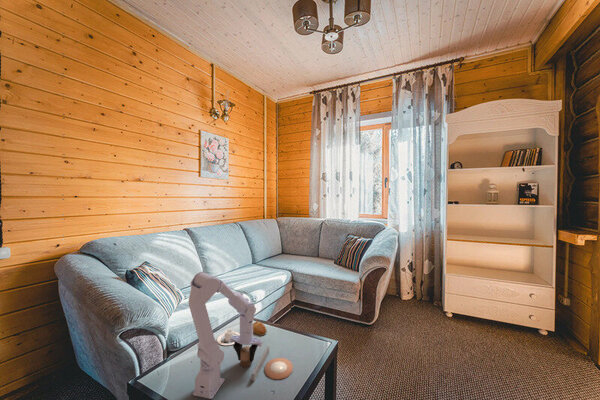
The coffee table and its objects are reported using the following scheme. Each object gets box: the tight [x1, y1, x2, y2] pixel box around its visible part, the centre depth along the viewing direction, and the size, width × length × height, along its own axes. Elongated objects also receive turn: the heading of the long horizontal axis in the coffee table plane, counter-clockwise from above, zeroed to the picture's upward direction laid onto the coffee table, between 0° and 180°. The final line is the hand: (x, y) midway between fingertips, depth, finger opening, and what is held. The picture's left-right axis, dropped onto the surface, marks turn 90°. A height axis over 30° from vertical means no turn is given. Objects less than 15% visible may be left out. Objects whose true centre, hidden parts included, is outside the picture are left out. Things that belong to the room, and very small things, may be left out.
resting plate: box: [264, 357, 294, 380], centre depth 105 cm, size 12×12×1 cm
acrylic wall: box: [251, 345, 270, 382], centre depth 106 cm, size 18×1×3 cm, turn 168°
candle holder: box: [216, 328, 240, 346], centre depth 126 cm, size 12×12×4 cm
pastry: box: [253, 321, 268, 336], centre depth 133 cm, size 9×7×4 cm
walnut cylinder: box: [239, 345, 253, 368], centre depth 108 cm, size 5×5×6 cm
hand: (246, 359), depth 108 cm, fingers closed on walnut cylinder, 5 cm apart
